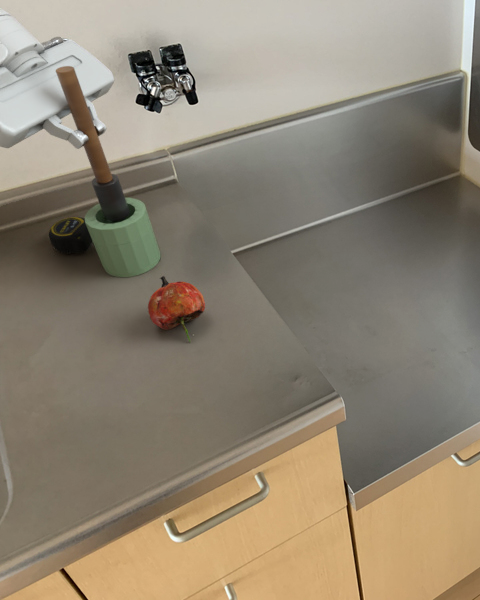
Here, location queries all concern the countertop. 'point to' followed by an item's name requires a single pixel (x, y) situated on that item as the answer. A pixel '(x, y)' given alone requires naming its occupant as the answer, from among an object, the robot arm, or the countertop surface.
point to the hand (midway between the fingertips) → (93, 138)
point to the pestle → (93, 149)
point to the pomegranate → (175, 304)
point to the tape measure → (70, 235)
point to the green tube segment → (124, 240)
